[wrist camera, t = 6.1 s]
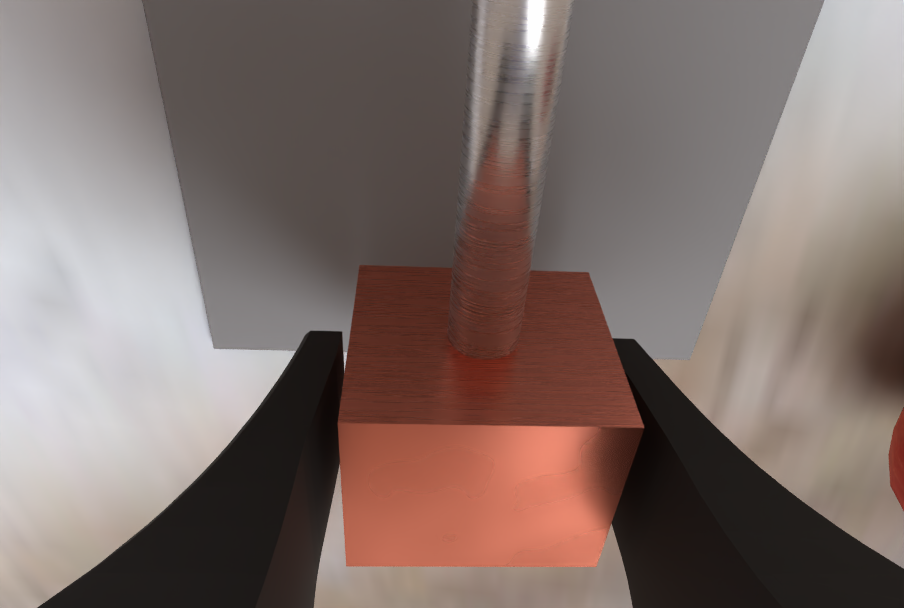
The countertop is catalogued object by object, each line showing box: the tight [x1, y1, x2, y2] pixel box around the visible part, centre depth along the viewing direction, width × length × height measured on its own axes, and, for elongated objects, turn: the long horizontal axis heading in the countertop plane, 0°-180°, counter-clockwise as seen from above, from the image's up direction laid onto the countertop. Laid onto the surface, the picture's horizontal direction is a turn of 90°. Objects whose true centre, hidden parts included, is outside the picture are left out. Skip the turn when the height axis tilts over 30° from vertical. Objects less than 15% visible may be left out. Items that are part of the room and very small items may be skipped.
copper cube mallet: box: [338, 0, 644, 567], centre depth 8 cm, size 16×4×4 cm, turn 176°
